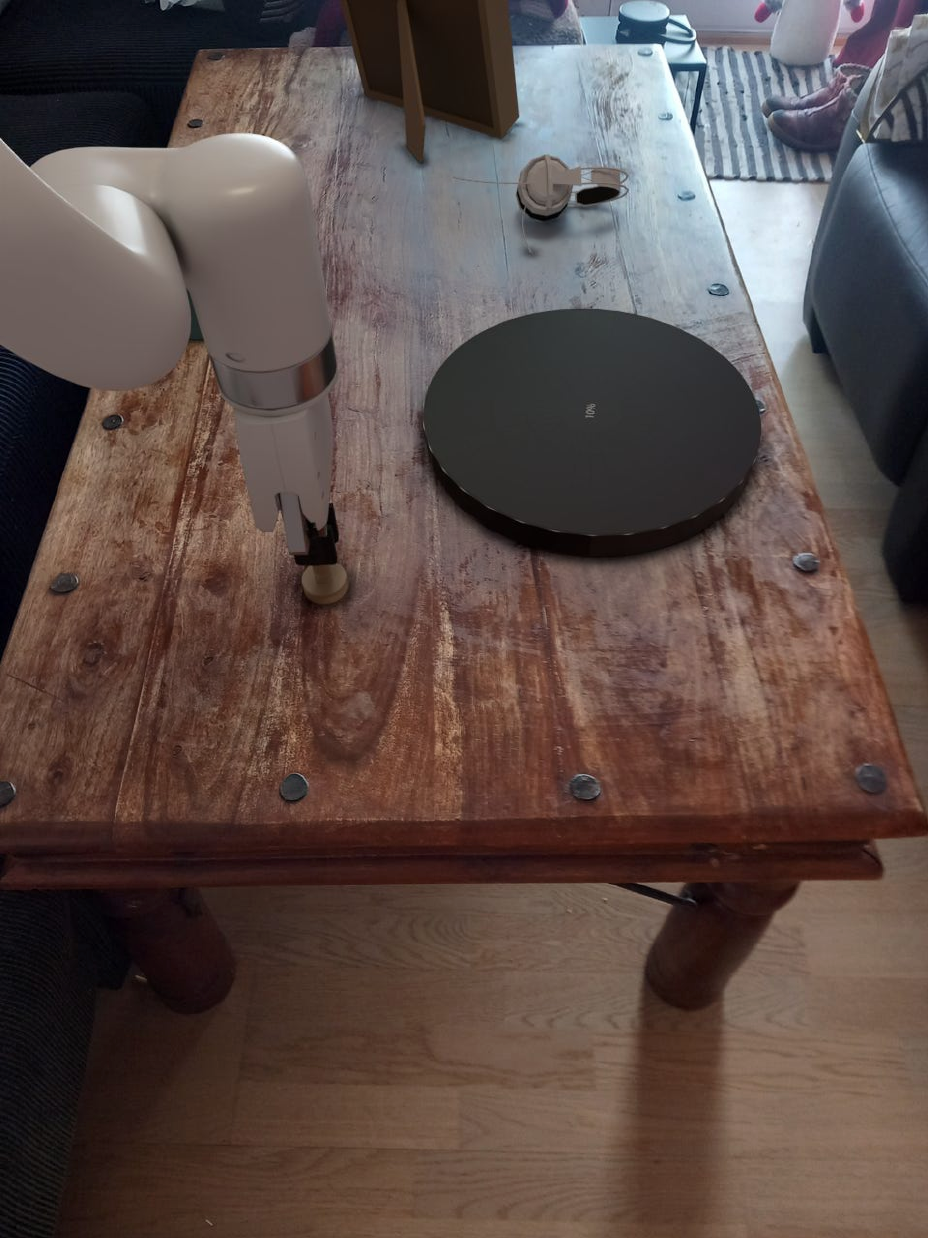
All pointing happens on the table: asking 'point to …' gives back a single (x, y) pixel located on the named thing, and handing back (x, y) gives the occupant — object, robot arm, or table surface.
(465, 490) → the disc
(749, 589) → the table surface
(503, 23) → the photo frame
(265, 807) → the table surface
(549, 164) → the headphones
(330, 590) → the rod on round base
